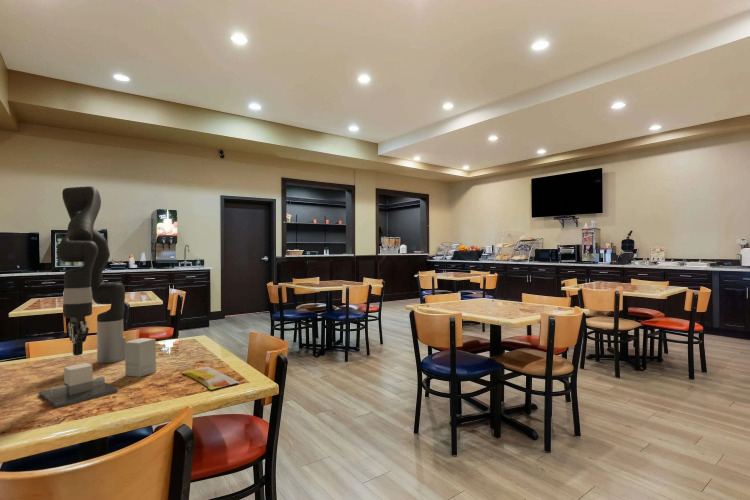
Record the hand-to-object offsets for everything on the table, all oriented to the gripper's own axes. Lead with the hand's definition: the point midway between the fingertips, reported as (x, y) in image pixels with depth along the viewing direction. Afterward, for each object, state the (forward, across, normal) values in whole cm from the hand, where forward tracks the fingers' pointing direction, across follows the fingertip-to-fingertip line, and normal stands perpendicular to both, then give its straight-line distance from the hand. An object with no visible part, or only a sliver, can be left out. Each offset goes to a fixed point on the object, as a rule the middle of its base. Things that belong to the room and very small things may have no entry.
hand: (77, 354), depth 124 cm
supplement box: (+13, +6, -21) cm, 26 cm away
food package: (+13, -21, -33) cm, 42 cm away
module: (+12, 0, 0) cm, 12 cm away
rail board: (+13, 0, 0) cm, 13 cm away
